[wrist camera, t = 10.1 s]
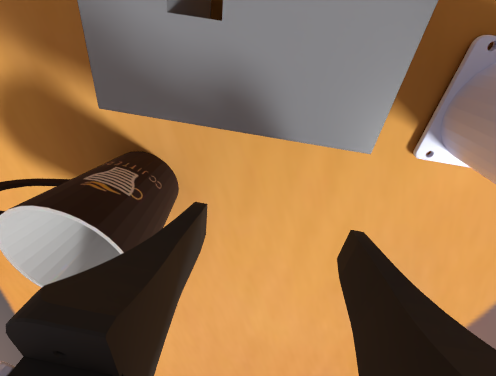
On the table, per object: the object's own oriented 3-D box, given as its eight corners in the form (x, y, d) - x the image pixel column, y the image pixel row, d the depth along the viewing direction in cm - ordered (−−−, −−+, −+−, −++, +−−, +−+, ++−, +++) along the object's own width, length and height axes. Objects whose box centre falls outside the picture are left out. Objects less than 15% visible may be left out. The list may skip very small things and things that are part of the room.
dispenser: (393, -39, 13) (483, -103, 7) (341, 116, 18) (370, 154, 12) (147, -73, 14) (45, -160, 8) (158, 86, 18) (98, 108, 12)
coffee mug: (208, 187, 23) (163, 275, 14) (157, 230, 26) (97, 319, 18) (100, 90, 19) (-46, 129, 11) (59, 155, 23) (-74, 223, 14)
